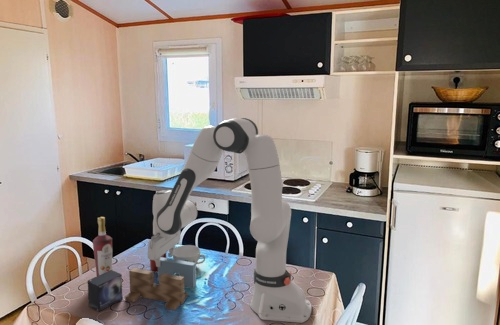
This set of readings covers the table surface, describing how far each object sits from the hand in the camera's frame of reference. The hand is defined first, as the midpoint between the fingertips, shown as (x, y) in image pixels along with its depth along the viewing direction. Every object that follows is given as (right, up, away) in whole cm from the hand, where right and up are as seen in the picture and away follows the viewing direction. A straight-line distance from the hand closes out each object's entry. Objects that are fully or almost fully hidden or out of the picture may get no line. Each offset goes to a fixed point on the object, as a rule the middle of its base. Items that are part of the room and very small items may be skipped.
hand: (164, 261), depth 152 cm
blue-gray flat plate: (+5, -9, 0) cm, 11 cm away
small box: (-19, -12, -14) cm, 26 cm away
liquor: (-24, -9, 0) cm, 26 cm away
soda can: (-6, -7, +13) cm, 16 cm away
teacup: (+8, -7, +15) cm, 18 cm away
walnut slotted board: (-1, -11, -11) cm, 15 cm away
